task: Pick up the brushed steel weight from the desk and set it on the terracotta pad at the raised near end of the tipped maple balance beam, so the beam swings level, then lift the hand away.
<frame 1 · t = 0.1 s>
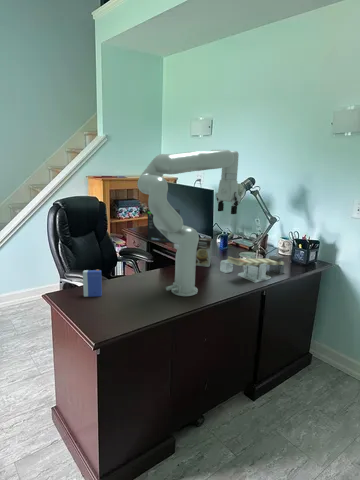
hand: (226, 212, 166), 37 cm above the table, tool pointing down, fingers open, 9 cm apart
beam: (257, 260, 183), point 9 cm above the table, hinge at 8.0°
coffee box: (202, 265, 203), on the table
walkman: (93, 295, 154), on the table
beam stand: (254, 277, 185), on the table
steel weight: (226, 271, 193), on the table
headset box: (163, 240, 260), on the table
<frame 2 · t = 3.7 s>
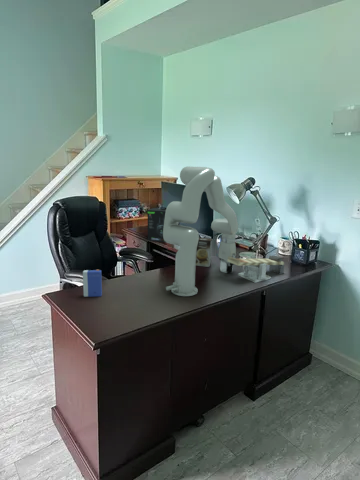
hand: (226, 270, 193), 0 cm above the table, tool pointing down, fingers closed on steel weight, 5 cm apart
steel weight: (226, 271, 193), on the table, touching gripper
everything else where it was.
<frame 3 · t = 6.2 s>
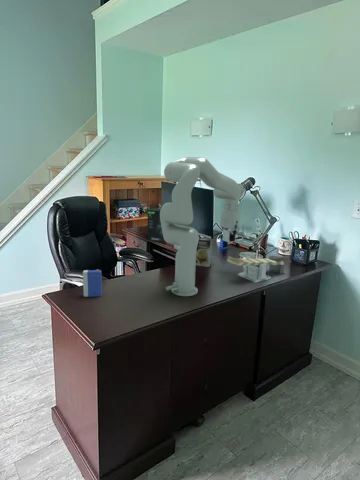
hand: (228, 239, 187), 19 cm above the table, tool pointing down, fingers closed on steel weight, 5 cm apart
steel weight: (228, 240, 187), point 18 cm above the table, touching gripper
everything else where it was.
when the fingers open (13 cm above the table, at t = 8.5 s): steel weight drops 3 cm, resting on beam.
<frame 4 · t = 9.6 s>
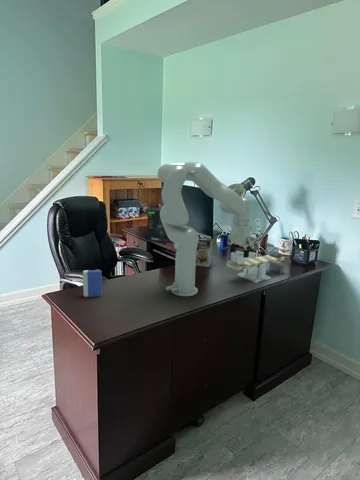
hand: (239, 254, 174), 14 cm above the table, tool pointing down, fingers open, 9 cm apart
beam: (256, 260, 183), point 9 cm above the table, hinge at -0.2°, touching steel weight
steel weight: (237, 263, 175), point 10 cm above the table, touching beam
everything else where it was.
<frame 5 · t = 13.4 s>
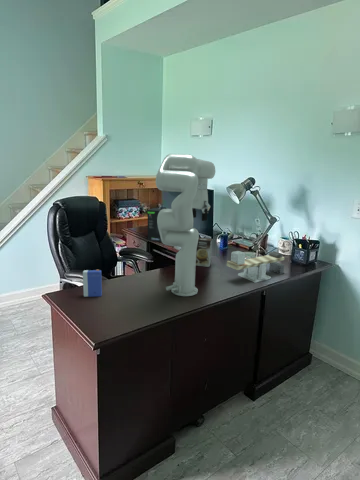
hand: (198, 219, 183), 30 cm above the table, tool pointing down, fingers open, 9 cm apart
nothing on the table moved.
at the end: beam at +0° (first picture: +8°); steel weight 0.7 cm from the target spot on the beam, point 1.7 cm above the beam's base; the gripper is holding nothing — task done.
